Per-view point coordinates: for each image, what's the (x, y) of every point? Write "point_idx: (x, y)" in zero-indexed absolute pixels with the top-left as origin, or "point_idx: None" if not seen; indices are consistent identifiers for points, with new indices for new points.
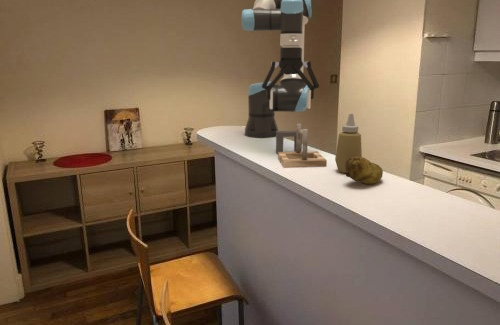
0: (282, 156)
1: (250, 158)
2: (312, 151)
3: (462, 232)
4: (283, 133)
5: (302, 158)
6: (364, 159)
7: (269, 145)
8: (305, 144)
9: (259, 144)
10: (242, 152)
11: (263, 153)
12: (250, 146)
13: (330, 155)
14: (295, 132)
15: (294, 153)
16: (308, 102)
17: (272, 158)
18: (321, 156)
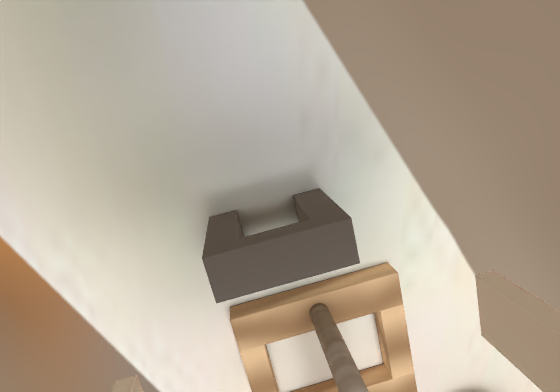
0: (256, 383)
1: (114, 339)
2: (378, 282)
3: None
4: (251, 290)
5: None
6: None
7: (149, 62)
8: None
9: (83, 40)
10: (43, 245)
11: (153, 247)
12: (43, 103)
13: (443, 233)
14: (321, 273)
15: (302, 329)
16: (523, 371)
17: (208, 321)
18: (406, 352)
